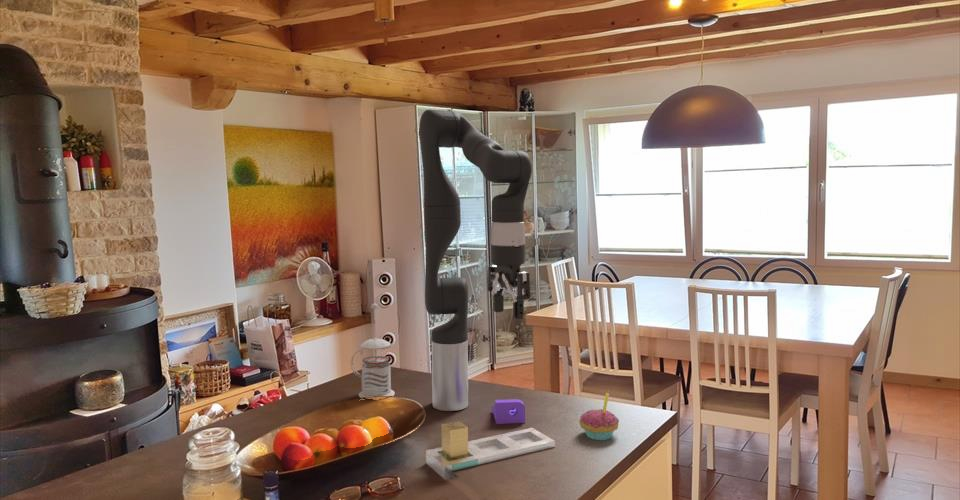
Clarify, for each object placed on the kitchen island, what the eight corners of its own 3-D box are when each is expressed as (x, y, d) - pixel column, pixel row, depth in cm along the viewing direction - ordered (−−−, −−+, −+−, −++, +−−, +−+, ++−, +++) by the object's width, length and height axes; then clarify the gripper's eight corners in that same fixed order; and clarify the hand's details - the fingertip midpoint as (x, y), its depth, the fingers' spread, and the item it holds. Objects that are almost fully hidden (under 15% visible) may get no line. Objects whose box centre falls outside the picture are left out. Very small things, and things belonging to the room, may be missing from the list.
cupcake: (620, 437, 156) (621, 385, 155) (615, 451, 148) (616, 397, 147) (582, 432, 159) (583, 382, 158) (575, 446, 151) (575, 393, 150)
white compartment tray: (426, 463, 143) (425, 450, 143) (532, 439, 156) (532, 427, 155) (445, 480, 135) (444, 466, 135) (555, 453, 148) (555, 441, 147)
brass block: (441, 457, 142) (441, 424, 141) (459, 453, 144) (458, 420, 143) (450, 464, 139) (450, 430, 138) (468, 460, 141) (467, 427, 140)
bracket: (525, 430, 162) (525, 401, 161) (496, 431, 162) (495, 402, 161) (518, 412, 174) (518, 386, 173) (491, 413, 174) (491, 386, 173)
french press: (392, 399, 184) (390, 306, 181) (348, 400, 184) (345, 307, 181) (397, 388, 193) (395, 300, 191) (355, 388, 194) (353, 300, 191)
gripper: (477, 240, 156) (478, 311, 158) (509, 246, 144) (510, 323, 146) (506, 238, 160) (506, 308, 162) (540, 244, 147) (540, 319, 149)
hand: (508, 315), depth 154 cm, fingers open, 8 cm apart
